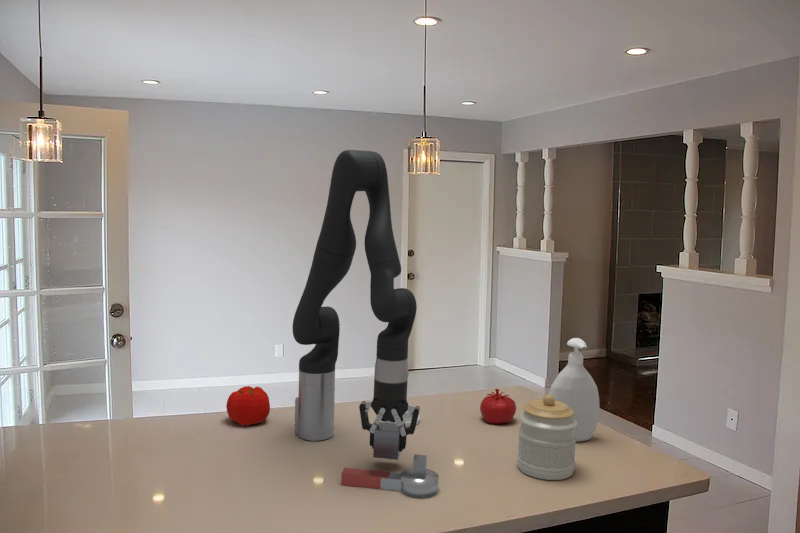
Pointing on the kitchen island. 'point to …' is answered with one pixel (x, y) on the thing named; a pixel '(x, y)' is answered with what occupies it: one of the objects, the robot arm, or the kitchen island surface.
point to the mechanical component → (407, 418)
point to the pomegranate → (497, 408)
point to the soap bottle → (578, 392)
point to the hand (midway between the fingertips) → (387, 448)
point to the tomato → (248, 405)
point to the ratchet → (396, 479)
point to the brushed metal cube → (386, 441)
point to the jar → (547, 439)
